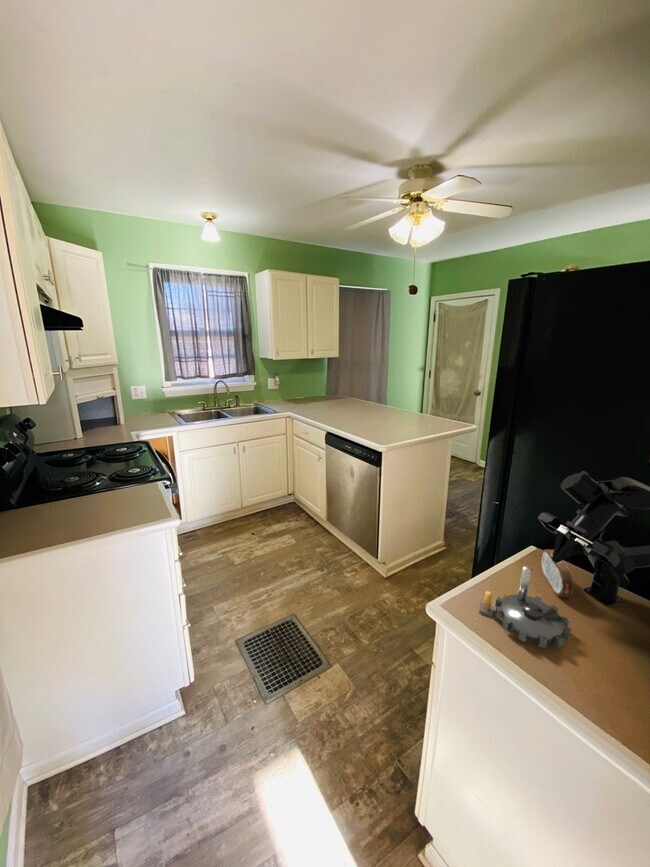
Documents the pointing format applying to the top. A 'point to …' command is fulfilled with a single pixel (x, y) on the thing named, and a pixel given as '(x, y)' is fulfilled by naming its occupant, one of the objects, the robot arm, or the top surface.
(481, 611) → the rounded peg on base
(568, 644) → the top surface
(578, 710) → the top surface
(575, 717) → the top surface
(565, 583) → the tin
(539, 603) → the sprocket
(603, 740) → the top surface
